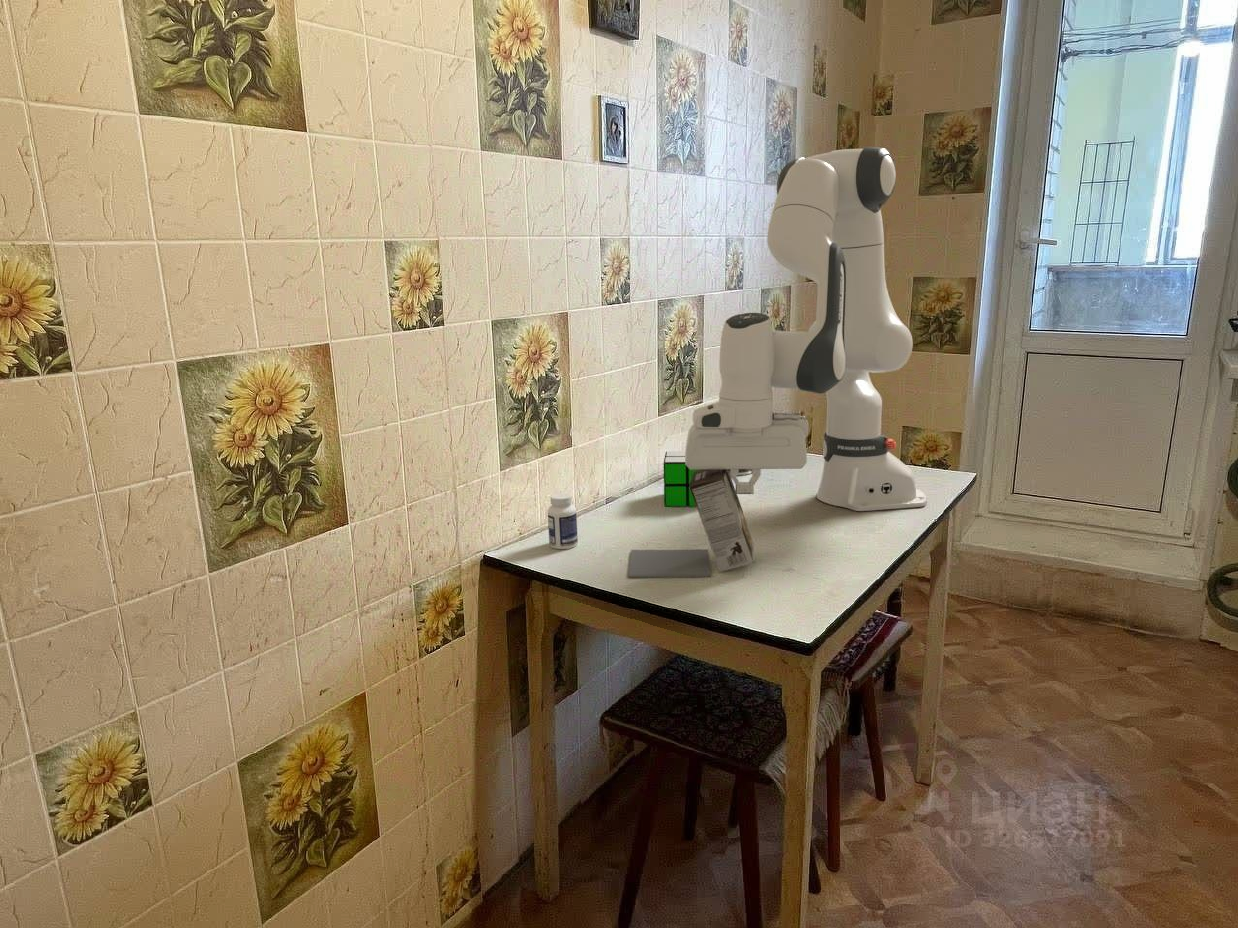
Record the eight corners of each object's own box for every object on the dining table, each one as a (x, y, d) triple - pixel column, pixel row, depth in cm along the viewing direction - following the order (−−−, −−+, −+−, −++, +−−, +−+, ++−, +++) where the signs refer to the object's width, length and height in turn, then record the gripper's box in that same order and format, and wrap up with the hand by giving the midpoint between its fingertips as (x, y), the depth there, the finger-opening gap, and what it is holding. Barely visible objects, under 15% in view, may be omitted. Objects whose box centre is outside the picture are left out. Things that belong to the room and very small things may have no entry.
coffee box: (721, 554, 147) (691, 472, 144) (755, 544, 145) (726, 461, 142) (718, 573, 138) (687, 486, 135) (755, 562, 136) (724, 474, 134)
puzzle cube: (710, 493, 182) (710, 450, 180) (711, 507, 173) (711, 462, 170) (666, 493, 183) (665, 450, 181) (664, 507, 174) (663, 462, 171)
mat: (708, 551, 148) (708, 549, 148) (711, 577, 136) (711, 575, 136) (631, 551, 149) (631, 549, 149) (628, 577, 137) (628, 575, 137)
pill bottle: (581, 541, 155) (579, 492, 153) (572, 551, 150) (569, 500, 148) (555, 539, 157) (552, 490, 154) (545, 548, 152) (542, 499, 149)
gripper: (806, 409, 137) (803, 487, 141) (684, 410, 138) (684, 488, 142) (812, 416, 131) (809, 498, 134) (685, 418, 132) (685, 499, 136)
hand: (744, 493), depth 138 cm, fingers closed
